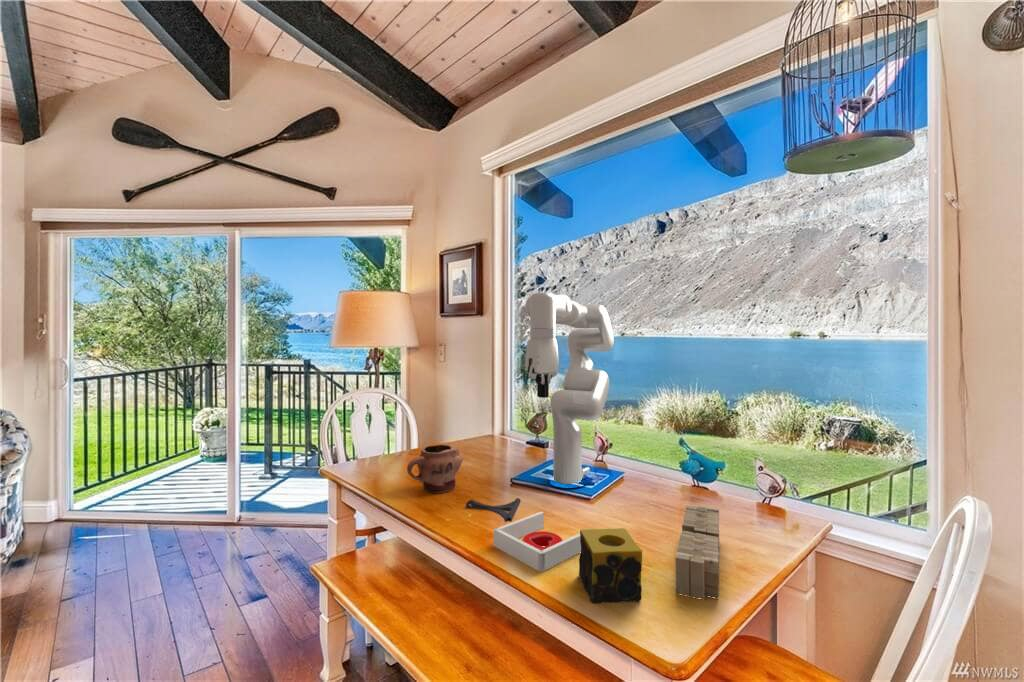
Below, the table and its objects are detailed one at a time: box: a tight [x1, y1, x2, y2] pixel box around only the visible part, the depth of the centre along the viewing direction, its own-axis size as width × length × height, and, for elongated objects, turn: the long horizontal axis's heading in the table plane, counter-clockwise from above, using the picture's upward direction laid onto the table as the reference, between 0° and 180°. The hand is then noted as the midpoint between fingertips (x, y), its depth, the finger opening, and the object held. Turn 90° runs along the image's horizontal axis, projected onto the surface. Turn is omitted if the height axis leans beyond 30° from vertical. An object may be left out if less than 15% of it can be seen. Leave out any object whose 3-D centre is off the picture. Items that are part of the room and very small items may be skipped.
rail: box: [493, 511, 581, 573], centre depth 107 cm, size 16×16×4 cm
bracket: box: [465, 497, 521, 522], centre depth 130 cm, size 14×15×3 cm
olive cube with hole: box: [578, 527, 643, 604], centre depth 90 cm, size 10×10×10 cm
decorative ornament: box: [521, 530, 564, 551], centre depth 105 cm, size 10×10×3 cm
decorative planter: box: [406, 444, 464, 494], centre depth 145 cm, size 20×12×14 cm, turn 136°
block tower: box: [675, 504, 720, 600], centre depth 99 cm, size 8×8×29 cm
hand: (542, 397), depth 132 cm, fingers closed
